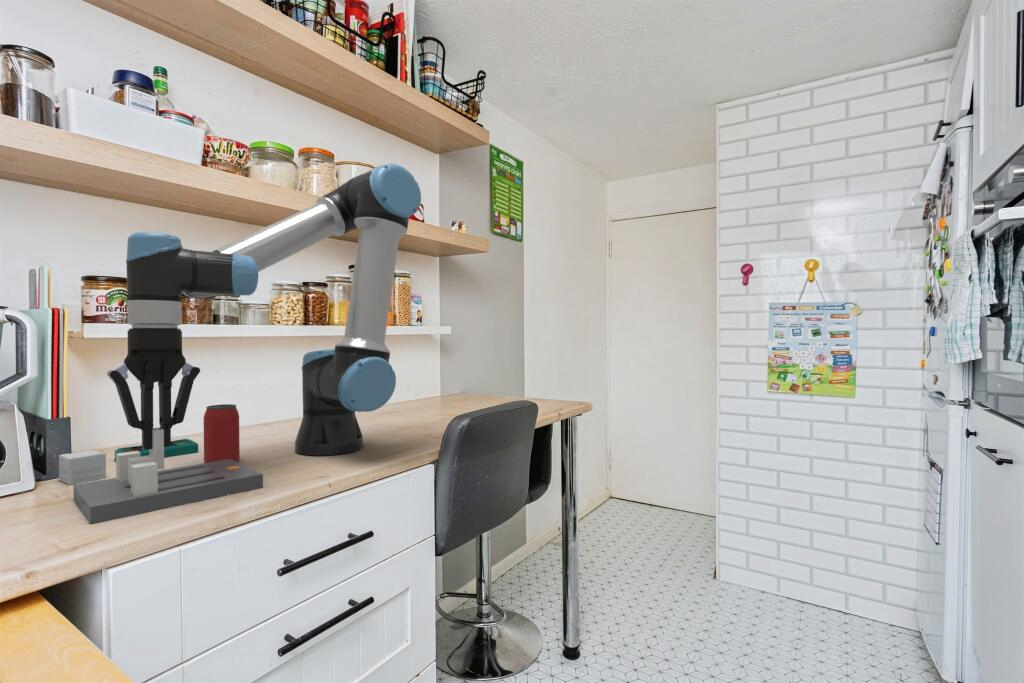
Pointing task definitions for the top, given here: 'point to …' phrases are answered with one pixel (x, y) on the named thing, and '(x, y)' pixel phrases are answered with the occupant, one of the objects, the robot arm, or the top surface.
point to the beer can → (221, 433)
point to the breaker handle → (137, 461)
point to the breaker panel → (160, 487)
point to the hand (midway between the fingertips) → (156, 467)
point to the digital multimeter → (166, 448)
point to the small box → (82, 467)
